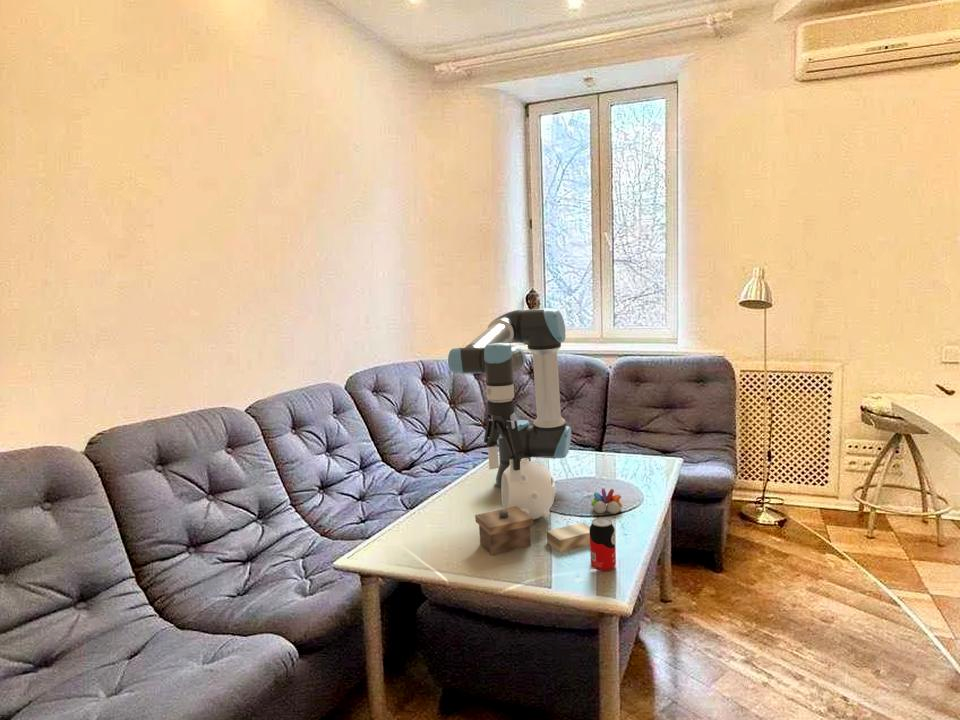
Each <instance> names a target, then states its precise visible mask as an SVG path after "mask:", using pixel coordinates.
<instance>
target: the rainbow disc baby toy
mask: <svg viewBox="0 0 960 720" xmlns="http://www.w3.org/2000/svg"><path fill="white" fill-rule="evenodd" d="M614 491H615V490H614V488H610V490H609V491H608V493H606V489H605V488H601V494H600V493H599V492H597V491H596V492H594V493H593V497H594V498H593V499H592V501H591V502H590V503H591V507H593V510H594V511H595V513H597V514H599V513H600V514H601V513H602V514H604V513H605V512H606V511H607V512H608V513H610V514H612V515H615V514H617V513H619V511H620V510H621V509H622V508H623V504H622V503H621V501H620V500H621V498H622V496H621V494H614V493H615V492H614ZM613 494H614V495H613Z"/></svg>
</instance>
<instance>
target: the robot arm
mask: <svg viewBox="0 0 960 720" xmlns="http://www.w3.org/2000/svg"><path fill="white" fill-rule="evenodd" d="M565 324H566V323H565V319H564V318H563V315H562V313H561V312H560V310H559V309H557V308H556V309H555V308H534V309H516V310H512V311H508V312H506V313H503V314H502V315H500V316H497V318H494V320H492V321H491V322H490V323H489V324H488V326H487V329H486V330H485V331H483V332H481V334H479V335H478V336H477V337H476V338H475V339H474V340H472V341H471V342H469V344H467V345H466V346H465V347H457V348H456V347H455V348H452V349H450V350H449V352H448V357H447V363H448V368H449V369H450V371H451V372H452V373H454V374H462V375H464V374H485V386H486V389H485V391H484V392H485V393H486V399H487V402H486V403H487V404H486V408H487V413H486V418H487V419H486V427H485V431H484V438H483V442H484V443H485V444H486V447H487V451H488V452H487V453H488V454H487V455H488V466H489V467H488V469H489V470H490V471H491V470H496V469H497V472H496V477H495V486H496V487H497V488H500V489H501V480H502V474H503V472H504V471H505V470H506V469H507V468H508V467H509V465H510V478H511V482H517V481H521V472H520V461H521V459H523V458H528V459H529V461H532V460H531V459H532V458H539V459H541V458H543V459H553V460H555V459H565V458H566V457H567V455H568V454H569V451H570V446H571V441H572V428H571V426H569V425H567V424H566V419H565V418H564V417H562V413H561V411H562V410H561V397H560V395H561V394H560V380H559V379H560V378H559V365H558V364H559V363H558V362H559V361H558V351H559V350H560V349H561V347H562V343H564V342H565V341H566V325H565ZM511 344H527V349H528V350H529V352H531V354H532V366H533V377H534V381H533V382H534V394H535V395H534V396H535V407H536V408H535V409H536V418H535V420H533V422H532V424H530V421H529V420H525V419H519V420H517V419H515V420H512V418H511V415H513V414H515V412H516V407H515V400H514V398H515V386H514V385H515V383H514V373H516V372H519V371H520V370H521V369H522V368H523V367H524V365H525V364H526V353H525V352H524V350H523V349H522V348H521V347H519V346H517V345H511Z"/></svg>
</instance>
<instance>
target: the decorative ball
mask: <svg viewBox="0 0 960 720" xmlns="http://www.w3.org/2000/svg"><path fill="white" fill-rule="evenodd" d="M520 472H521V481H517V482H511V478H510V465H509V467H508V468H507V469H506V470H505V471H504V472H503V474H502V480H501V488H500V494H501V495H500V496H501V505H502V509H506V508H510V507H515V506H517V507H518V508H519V509H521V510H522V511H524V512H525V513H526V514H528V515H529V516H531V517H532V518H533V520H536V519H539V518H541V517H543V518H544V519H545V518H547V517H548V516H549V515H550V514H551V511H550V510H551V508H552V506H553V504H554V501H555V494H556V483H555V481H554V478H553V476H552V475H551V472H550V471H549V470H548V469H547V468H546V467H545V466H543V465H542V464H540V463H537V462H535V461H532V460H531V461H529V459H528V458H523V459H521V461H520Z"/></svg>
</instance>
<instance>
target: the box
mask: <svg viewBox="0 0 960 720" xmlns="http://www.w3.org/2000/svg"><path fill="white" fill-rule="evenodd" d="M478 527H479V529H478V530H479V542H480V543H479V544H480V546H481V547H482V548H484V550H486V552H488V553H489V555H490V556H497V555H500V554H504V553H508V552H511V551H512V552H513V551H515V550H520V549H525V548H529V547H531V545H532V543H531V542H532V541H531V526H527V527H523V528H519V529H514V530H510V531H506V532H502V533H497V534H493V535H490V534H489V533H488V532H487V531H486V530H484V529H483V528H482V527H481V526H480V525H479V524H478Z"/></svg>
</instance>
